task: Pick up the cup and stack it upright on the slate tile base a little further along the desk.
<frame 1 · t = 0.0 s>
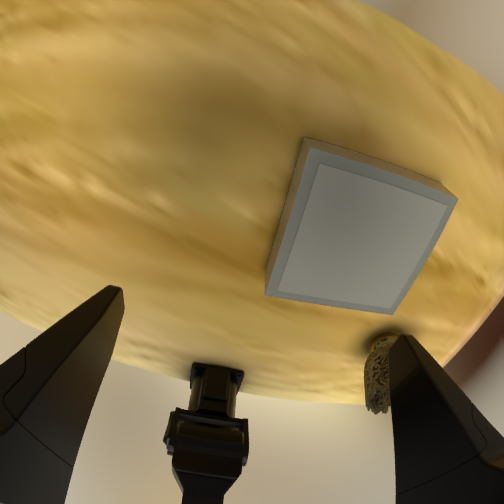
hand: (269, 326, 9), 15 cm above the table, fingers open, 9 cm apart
slate base: (354, 227, 23), on the table
cup: (383, 339, 32), on the table
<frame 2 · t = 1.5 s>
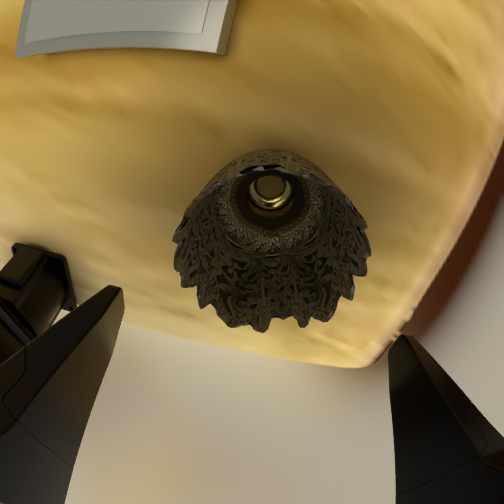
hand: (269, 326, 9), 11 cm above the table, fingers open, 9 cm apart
cup: (269, 184, 18), on the table
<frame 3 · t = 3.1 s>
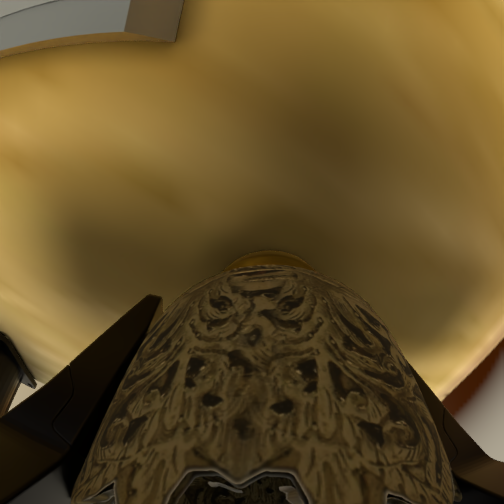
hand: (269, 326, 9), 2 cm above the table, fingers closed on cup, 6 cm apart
cup: (269, 282, 10), on the table, touching gripper
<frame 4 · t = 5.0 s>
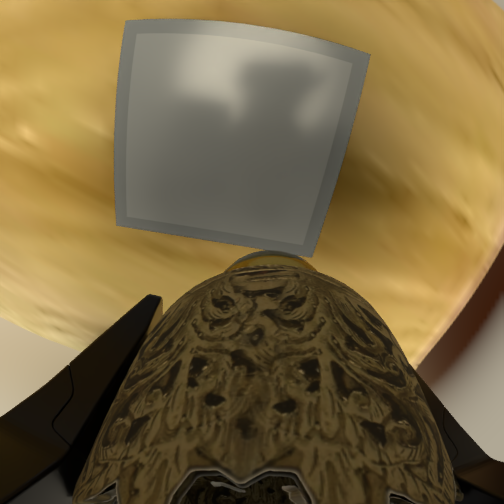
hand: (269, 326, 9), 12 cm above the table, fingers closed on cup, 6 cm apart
slate base: (231, 128, 17), on the table
cup: (270, 282, 10), point 10 cm above the table, touching gripper
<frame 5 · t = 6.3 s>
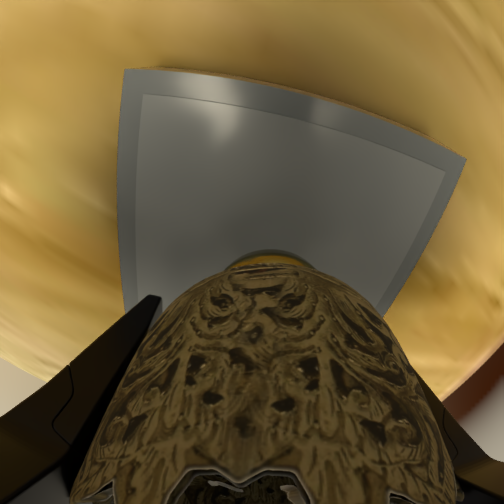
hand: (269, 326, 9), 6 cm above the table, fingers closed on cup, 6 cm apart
slate base: (270, 220, 14), on the table
cup: (270, 281, 10), point 4 cm above the table, touching gripper
when the fingers open (6 cm above the table, at t = 7.1 s): cup drops 1 cm, resting on slate base.
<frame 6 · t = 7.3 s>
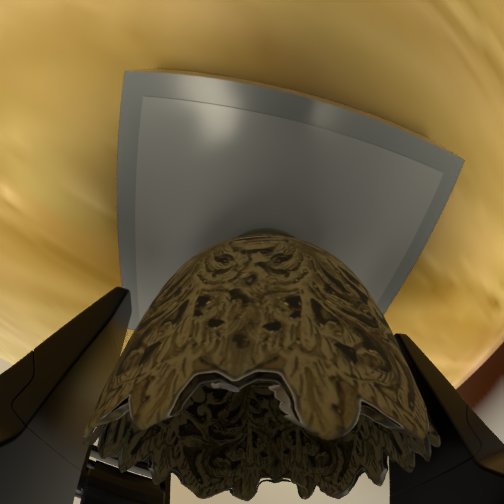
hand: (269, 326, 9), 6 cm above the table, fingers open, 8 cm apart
slate base: (269, 221, 14), on the table
cup: (265, 259, 11), point 3 cm above the table, touching slate base
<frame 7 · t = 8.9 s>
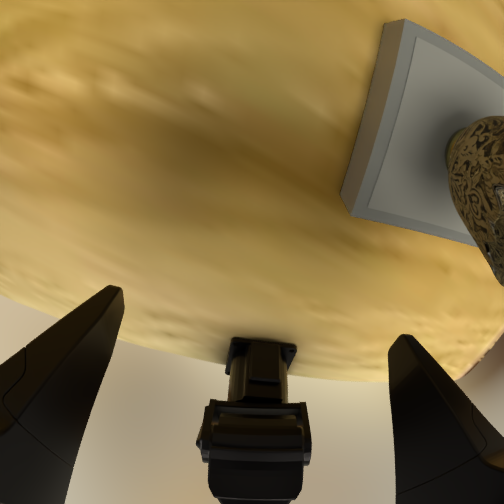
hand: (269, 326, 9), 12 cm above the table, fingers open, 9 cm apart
slate base: (440, 137, 16), on the table
cup: (461, 151, 14), point 3 cm above the table, touching slate base
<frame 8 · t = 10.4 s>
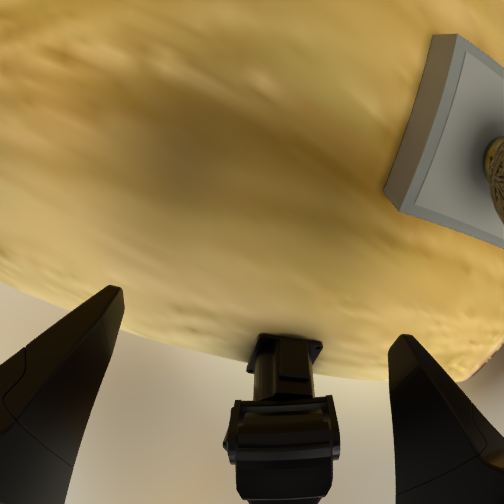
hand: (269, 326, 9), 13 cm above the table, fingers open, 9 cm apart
slate base: (473, 144, 16), on the table
cup: (494, 158, 14), point 3 cm above the table, touching slate base
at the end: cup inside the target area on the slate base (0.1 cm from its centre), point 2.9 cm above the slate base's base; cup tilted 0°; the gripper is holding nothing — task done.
